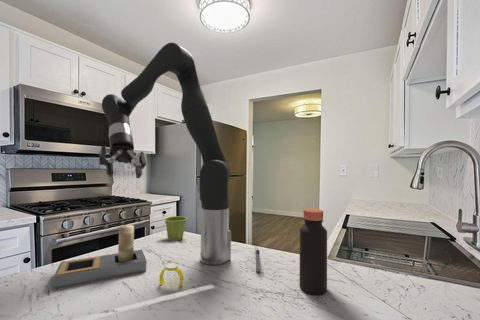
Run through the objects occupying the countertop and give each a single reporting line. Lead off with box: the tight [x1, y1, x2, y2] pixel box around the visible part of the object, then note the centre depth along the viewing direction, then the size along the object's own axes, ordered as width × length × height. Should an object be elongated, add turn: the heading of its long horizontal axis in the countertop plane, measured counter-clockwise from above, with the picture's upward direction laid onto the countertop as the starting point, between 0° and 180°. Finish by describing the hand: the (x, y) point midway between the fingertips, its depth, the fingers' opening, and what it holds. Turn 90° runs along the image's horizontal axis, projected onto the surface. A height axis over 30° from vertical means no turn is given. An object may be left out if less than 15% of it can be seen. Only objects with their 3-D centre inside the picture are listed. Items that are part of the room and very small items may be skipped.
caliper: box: [254, 245, 261, 273], centre depth 79 cm, size 20×1×6 cm, turn 178°
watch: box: [159, 263, 184, 288], centre depth 59 cm, size 6×3×6 cm, turn 78°
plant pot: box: [163, 216, 188, 241], centre depth 99 cm, size 9×9×9 cm
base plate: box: [52, 249, 147, 291], centre depth 66 cm, size 21×10×4 cm, turn 119°
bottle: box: [298, 208, 328, 296], centre depth 60 cm, size 7×7×20 cm
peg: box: [117, 224, 135, 263], centre depth 69 cm, size 4×4×12 cm
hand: (125, 176), depth 76 cm, fingers open, 8 cm apart
